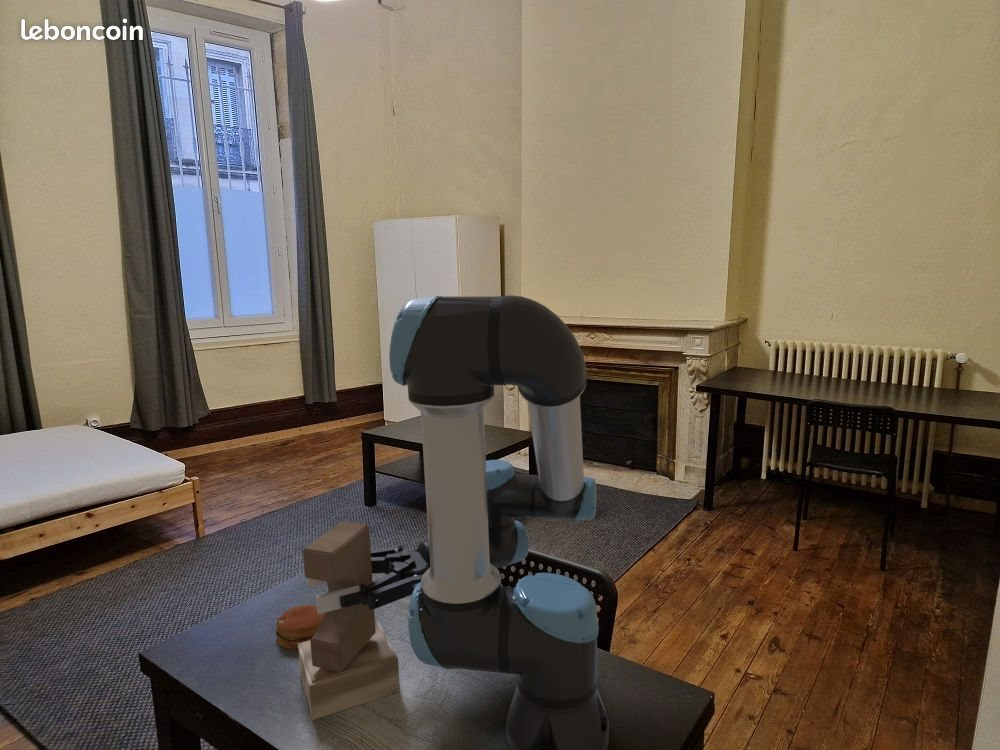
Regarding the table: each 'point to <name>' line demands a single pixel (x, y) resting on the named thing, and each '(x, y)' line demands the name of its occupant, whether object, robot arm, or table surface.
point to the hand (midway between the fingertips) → (312, 591)
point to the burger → (298, 625)
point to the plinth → (350, 677)
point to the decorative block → (342, 566)
